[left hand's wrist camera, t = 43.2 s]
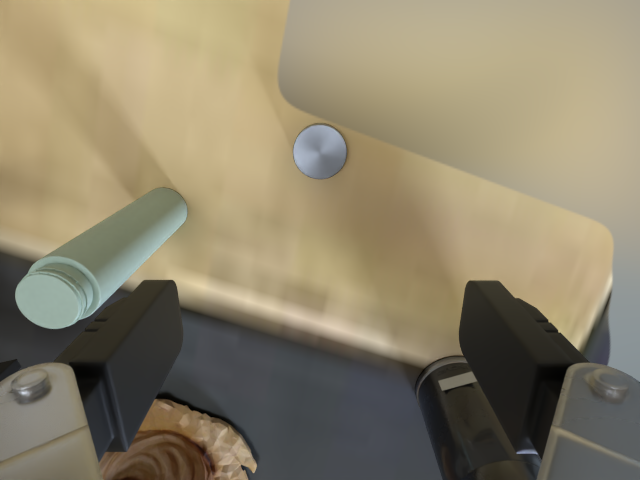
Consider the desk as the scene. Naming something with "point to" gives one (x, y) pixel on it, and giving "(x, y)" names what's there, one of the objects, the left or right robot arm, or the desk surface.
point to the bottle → (98, 260)
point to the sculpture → (180, 448)
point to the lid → (319, 151)
